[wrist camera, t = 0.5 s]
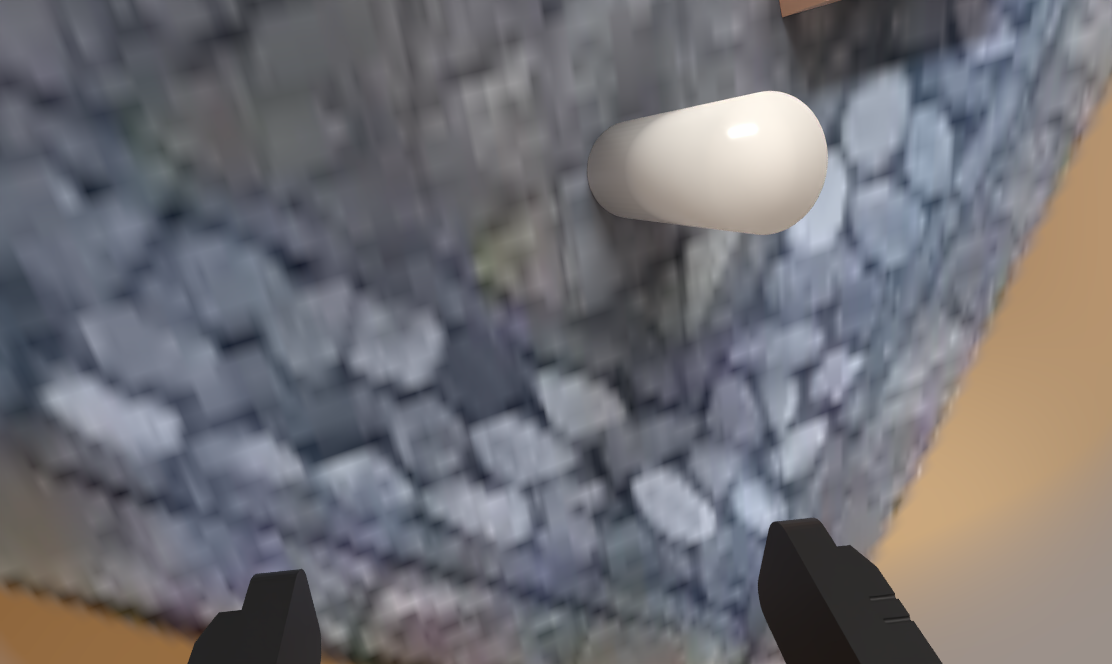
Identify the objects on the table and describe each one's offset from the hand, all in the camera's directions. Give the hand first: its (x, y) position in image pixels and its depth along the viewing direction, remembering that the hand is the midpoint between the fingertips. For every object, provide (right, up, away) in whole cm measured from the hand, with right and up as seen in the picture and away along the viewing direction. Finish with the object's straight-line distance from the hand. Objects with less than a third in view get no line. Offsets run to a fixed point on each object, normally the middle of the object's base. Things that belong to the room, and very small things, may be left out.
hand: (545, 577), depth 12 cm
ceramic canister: (+4, +12, +23) cm, 27 cm away
